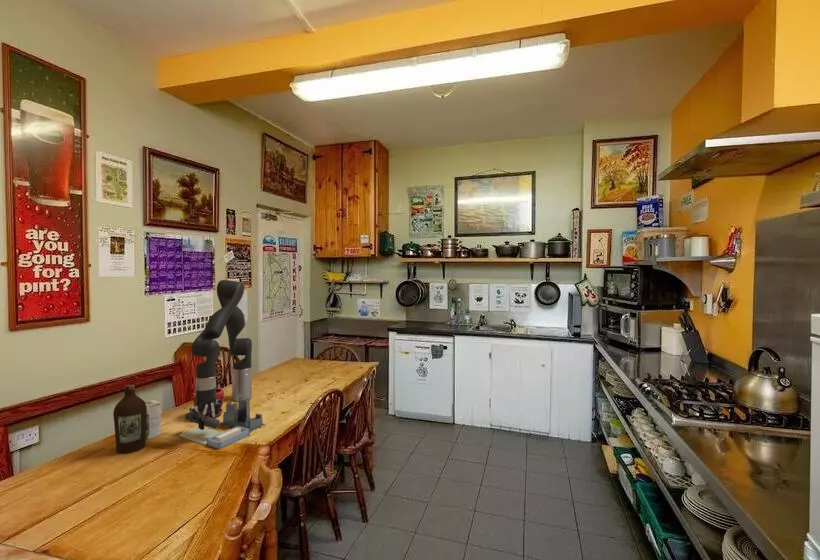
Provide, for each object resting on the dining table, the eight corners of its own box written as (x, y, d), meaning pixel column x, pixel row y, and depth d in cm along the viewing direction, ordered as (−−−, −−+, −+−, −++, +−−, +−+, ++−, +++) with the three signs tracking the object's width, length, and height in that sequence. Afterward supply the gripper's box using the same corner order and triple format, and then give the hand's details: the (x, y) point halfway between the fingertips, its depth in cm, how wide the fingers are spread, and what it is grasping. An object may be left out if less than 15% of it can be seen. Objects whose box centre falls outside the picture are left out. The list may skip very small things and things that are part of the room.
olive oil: (115, 446, 153) (114, 384, 153) (147, 440, 159) (146, 380, 158) (112, 457, 144) (111, 391, 144) (147, 450, 150) (145, 386, 150)
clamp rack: (220, 424, 175) (220, 401, 175) (236, 418, 182) (236, 395, 182) (249, 432, 166) (249, 408, 166) (264, 425, 174) (264, 402, 173)
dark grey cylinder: (185, 421, 166) (184, 413, 166) (193, 419, 169) (192, 410, 169) (211, 429, 157) (211, 421, 157) (219, 426, 160) (219, 418, 160)
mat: (178, 436, 163) (178, 434, 163) (200, 427, 172) (200, 426, 172) (205, 445, 154) (205, 443, 154) (227, 435, 163) (227, 434, 163)
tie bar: (215, 443, 155) (215, 436, 155) (237, 433, 164) (236, 427, 164) (219, 444, 154) (219, 438, 154) (241, 434, 163) (241, 428, 163)
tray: (206, 445, 154) (206, 439, 154) (238, 431, 167) (238, 426, 167) (219, 449, 151) (219, 443, 151) (250, 435, 164) (250, 429, 164)
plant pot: (229, 411, 191) (229, 387, 191) (213, 421, 178) (213, 396, 178) (204, 410, 193) (204, 386, 192) (187, 420, 180) (186, 395, 179)
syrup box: (139, 437, 162) (138, 403, 161) (154, 432, 167) (153, 399, 166) (146, 440, 159) (146, 405, 159) (161, 434, 164) (161, 401, 164)
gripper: (195, 393, 153) (196, 435, 154) (226, 383, 166) (227, 423, 166) (184, 390, 157) (184, 432, 157) (215, 381, 169) (216, 420, 170)
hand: (206, 427), depth 162 cm, fingers closed on dark grey cylinder, 3 cm apart
